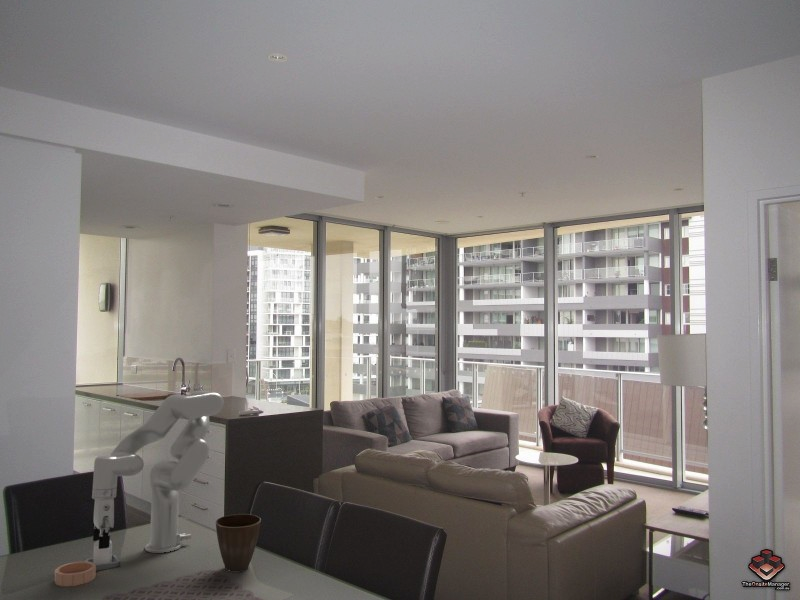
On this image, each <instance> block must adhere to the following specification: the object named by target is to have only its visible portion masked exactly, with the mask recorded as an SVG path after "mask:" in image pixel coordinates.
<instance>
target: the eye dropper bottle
mask: <svg viewBox="0 0 800 600" xmlns="http://www.w3.org/2000/svg"><path fill="white" fill-rule="evenodd" d="M102 531H103V530H102ZM99 536H100V534H99ZM92 550H93V553H92V554H93V555H92V558H93V563H95V565H100V564H105V563H111V562H113V560H112V555H113V542H112V540H110V543H109V548H104V549H99V540H98V541H94V543H93V549H92Z"/></svg>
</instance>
